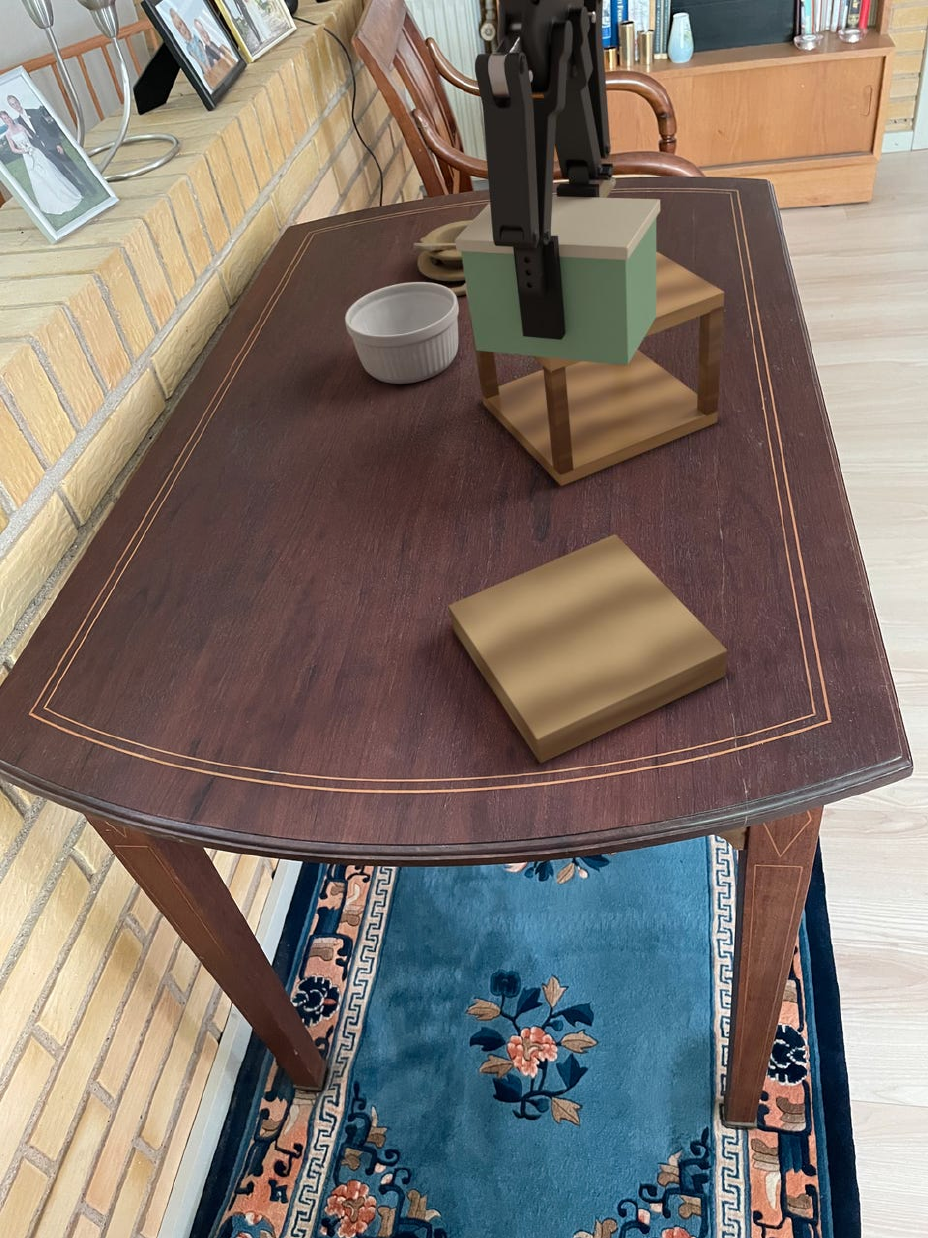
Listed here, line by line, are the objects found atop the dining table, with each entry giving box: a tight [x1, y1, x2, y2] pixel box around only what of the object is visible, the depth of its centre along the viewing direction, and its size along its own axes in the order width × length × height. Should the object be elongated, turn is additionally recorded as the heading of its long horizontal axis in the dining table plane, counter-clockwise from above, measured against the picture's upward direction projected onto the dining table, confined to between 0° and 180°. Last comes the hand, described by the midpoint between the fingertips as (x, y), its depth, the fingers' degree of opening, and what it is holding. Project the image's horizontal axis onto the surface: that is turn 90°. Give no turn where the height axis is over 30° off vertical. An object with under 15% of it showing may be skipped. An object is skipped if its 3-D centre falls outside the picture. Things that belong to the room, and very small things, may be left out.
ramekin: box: [344, 281, 460, 385], centre depth 108 cm, size 13×13×7 cm
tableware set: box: [412, 176, 617, 297], centre depth 125 cm, size 30×20×6 cm, turn 94°
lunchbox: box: [455, 195, 661, 365], centre depth 61 cm, size 11×7×8 cm, turn 65°
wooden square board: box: [447, 533, 728, 764], centre depth 73 cm, size 16×16×3 cm
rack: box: [464, 250, 725, 487], centre depth 92 cm, size 18×18×14 cm
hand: (564, 306), depth 62 cm, fingers closed on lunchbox, 7 cm apart
